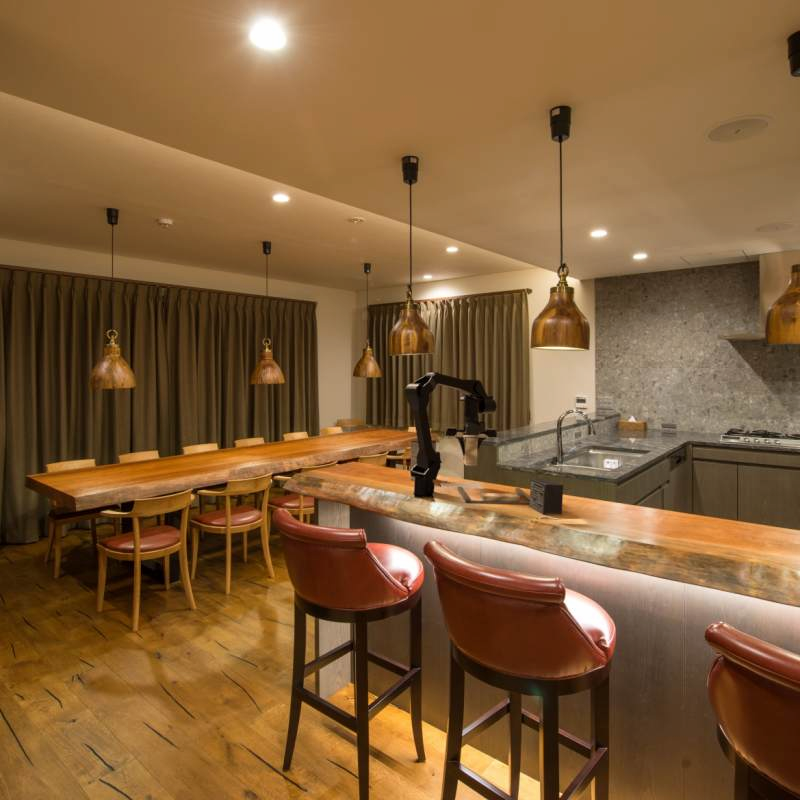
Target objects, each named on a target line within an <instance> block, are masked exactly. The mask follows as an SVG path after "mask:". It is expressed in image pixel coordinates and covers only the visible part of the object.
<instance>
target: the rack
mask: <svg viewBox="0 0 800 800" xmlns="http://www.w3.org/2000/svg"><path fill="white" fill-rule="evenodd" d="M456 489H457V491H458V493H459V494H460V496H461V498H462V499H463V500H464V502H465V503H466V504H491V505H493V504H495V505H501V504H502V505H530V494H528V493H527V492H525V491H524V490H523V489H521V488H520V487H515V490H514V491H515V492H516V494H517V495H518V496H520V497H522V498H523V499H524V500H525V501H520V502H516V501H481V500H476V499H475V500H473V499H471V497H470V496H469V495H468V493H467V492H466V490H465V488H462V487H459V486H458V488H456Z"/></svg>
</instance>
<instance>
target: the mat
mask: <svg viewBox="0 0 800 800" xmlns="http://www.w3.org/2000/svg"><path fill="white" fill-rule="evenodd" d="M440 485H441V486H440ZM439 486H440V487H441V489H442V488H445V489H447V488H450V489H457V488H458V486H459V487H462V488H463V489H479V490H481V489H483V490H485V487H484V486H483V485H482V484H481V483H455V482H454V483H453V482H451V483H450V482H448V483H447V482H439Z"/></svg>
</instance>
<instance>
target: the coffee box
mask: <svg viewBox="0 0 800 800" xmlns="http://www.w3.org/2000/svg"><path fill="white" fill-rule="evenodd" d="M410 444H411V445H410V447H411V448H410V470H411V469H412V468H413V467H414V466H415V464H416V463H417V461H416V457H417V454H418V451H419V446H418V440H417V439H413V440H411V443H410ZM436 444H437V440H434V439H432V445H433V449H434V450H435V451H437V450H436V448H437V445H436ZM411 479H414V477H412V476H411V475H410V480H411Z"/></svg>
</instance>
